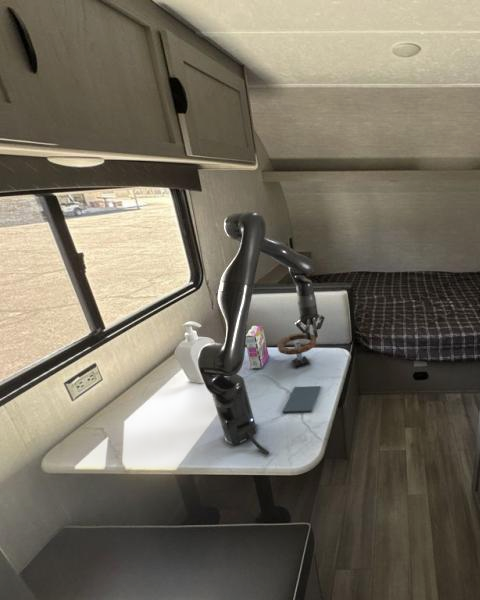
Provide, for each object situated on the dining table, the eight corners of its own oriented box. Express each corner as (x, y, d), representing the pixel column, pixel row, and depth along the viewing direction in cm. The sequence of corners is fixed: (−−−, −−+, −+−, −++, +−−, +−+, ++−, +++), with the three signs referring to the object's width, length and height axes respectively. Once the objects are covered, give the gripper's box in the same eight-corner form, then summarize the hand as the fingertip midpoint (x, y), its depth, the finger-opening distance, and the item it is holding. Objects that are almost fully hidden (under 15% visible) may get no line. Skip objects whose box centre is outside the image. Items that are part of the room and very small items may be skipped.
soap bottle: (204, 386, 127) (186, 330, 118) (184, 384, 129) (165, 328, 120) (226, 369, 138) (211, 317, 129) (207, 367, 140) (191, 315, 131)
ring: (321, 346, 135) (320, 342, 135) (283, 358, 127) (282, 354, 127) (309, 333, 148) (308, 330, 147) (274, 343, 140) (273, 339, 139)
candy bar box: (262, 368, 138) (255, 335, 132) (251, 369, 138) (243, 336, 132) (269, 355, 149) (263, 324, 143) (258, 356, 148) (251, 325, 142)
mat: (311, 412, 111) (310, 410, 111) (283, 413, 111) (282, 411, 111) (320, 387, 124) (320, 386, 124) (295, 388, 124) (295, 386, 124)
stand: (309, 363, 141) (305, 342, 136) (296, 368, 138) (291, 346, 133) (305, 358, 145) (301, 337, 141) (292, 362, 142) (288, 340, 138)
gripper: (293, 309, 128) (299, 346, 135) (325, 302, 135) (330, 337, 142) (288, 304, 134) (295, 340, 141) (319, 297, 141) (324, 331, 148)
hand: (312, 338), depth 141 cm, fingers closed on ring, 2 cm apart
